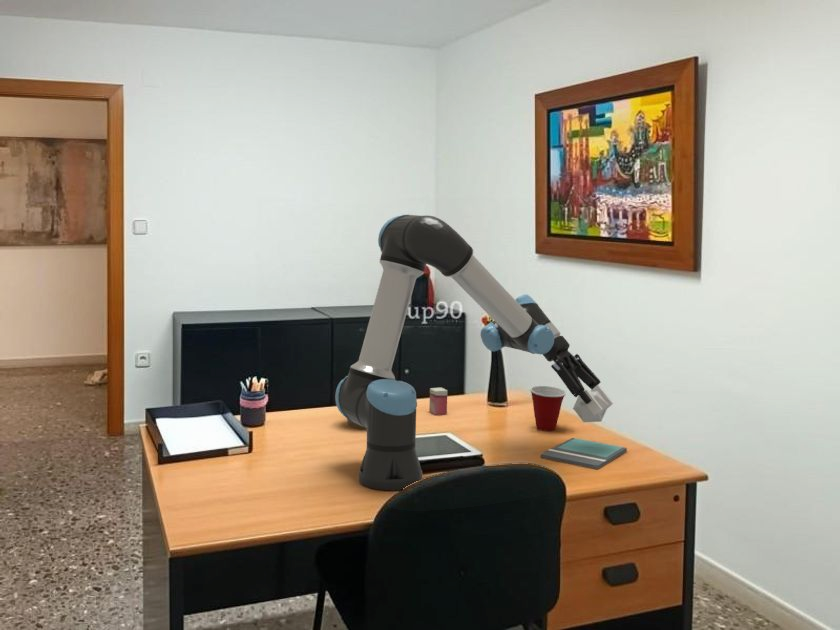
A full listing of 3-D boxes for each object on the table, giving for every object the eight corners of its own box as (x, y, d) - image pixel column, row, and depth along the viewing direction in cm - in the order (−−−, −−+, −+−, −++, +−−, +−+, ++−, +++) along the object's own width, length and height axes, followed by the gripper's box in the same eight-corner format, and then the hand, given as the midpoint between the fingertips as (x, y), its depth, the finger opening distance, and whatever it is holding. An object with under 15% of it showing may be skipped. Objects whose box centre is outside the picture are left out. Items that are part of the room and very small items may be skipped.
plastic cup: (549, 435, 235) (550, 395, 234) (521, 427, 244) (522, 388, 242) (572, 429, 243) (574, 390, 241) (544, 422, 251) (545, 384, 249)
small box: (428, 411, 261) (429, 387, 260) (441, 410, 263) (441, 387, 262) (434, 415, 256) (435, 391, 255) (447, 414, 258) (447, 390, 257)
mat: (597, 469, 204) (597, 465, 204) (540, 457, 213) (540, 453, 213) (626, 451, 221) (626, 447, 220) (572, 441, 230) (572, 437, 230)
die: (603, 428, 213) (617, 397, 216) (575, 412, 212) (590, 381, 215) (591, 431, 221) (604, 401, 224) (564, 416, 220) (578, 385, 223)
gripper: (557, 346, 233) (608, 410, 226) (525, 356, 217) (579, 425, 210) (575, 330, 229) (627, 394, 222) (543, 338, 213) (599, 408, 206)
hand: (604, 409), depth 216 cm, fingers closed on die, 7 cm apart
